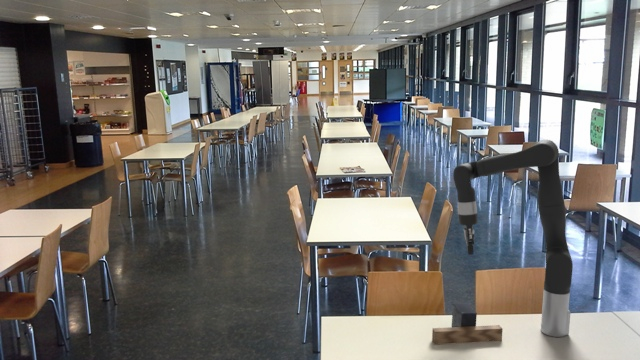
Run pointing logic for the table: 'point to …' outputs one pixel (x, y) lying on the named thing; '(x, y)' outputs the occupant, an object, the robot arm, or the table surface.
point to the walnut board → (467, 334)
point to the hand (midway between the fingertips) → (470, 254)
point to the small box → (463, 315)
